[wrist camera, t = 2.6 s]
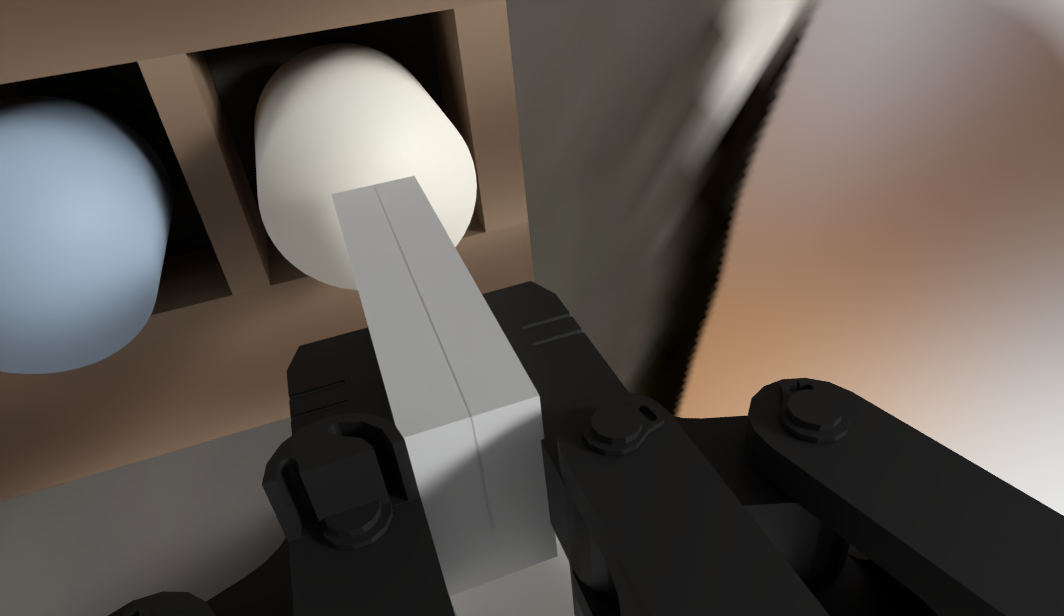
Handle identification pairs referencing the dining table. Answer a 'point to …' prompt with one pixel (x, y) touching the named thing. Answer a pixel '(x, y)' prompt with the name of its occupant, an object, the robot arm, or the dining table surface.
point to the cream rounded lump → (350, 151)
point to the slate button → (76, 233)
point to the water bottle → (522, 592)
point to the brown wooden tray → (234, 227)
